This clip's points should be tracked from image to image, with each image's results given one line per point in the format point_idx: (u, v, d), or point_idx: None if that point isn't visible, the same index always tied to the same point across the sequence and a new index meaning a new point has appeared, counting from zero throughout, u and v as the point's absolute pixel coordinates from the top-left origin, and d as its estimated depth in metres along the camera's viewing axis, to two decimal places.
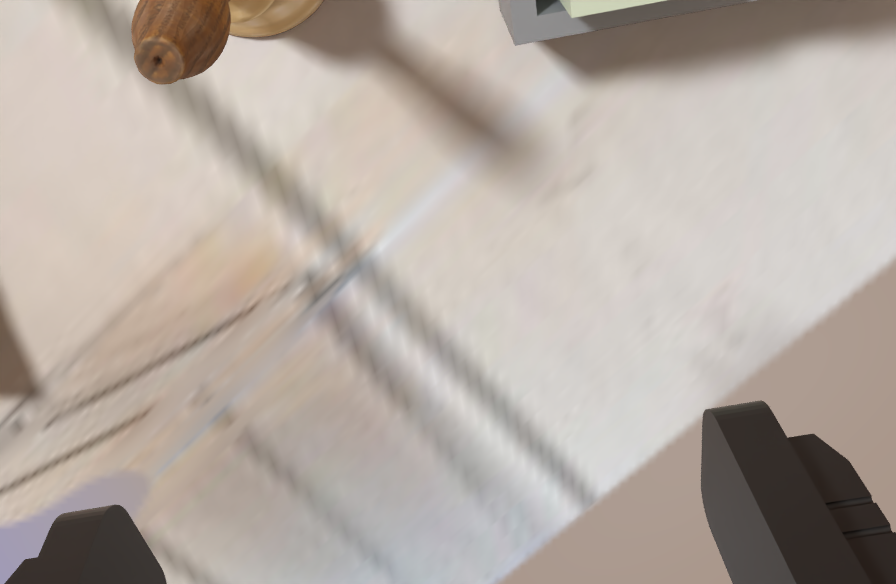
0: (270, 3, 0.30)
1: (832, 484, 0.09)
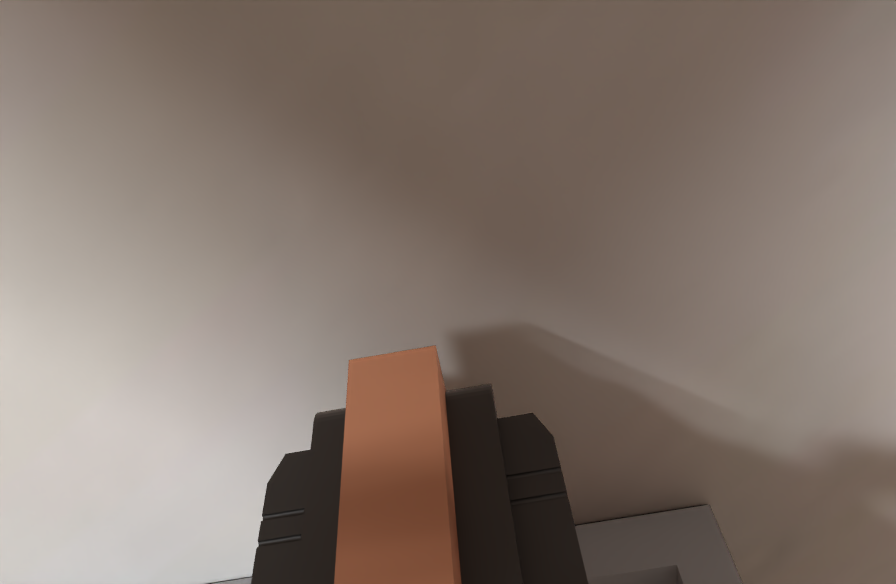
0: None
1: (531, 457, 0.10)
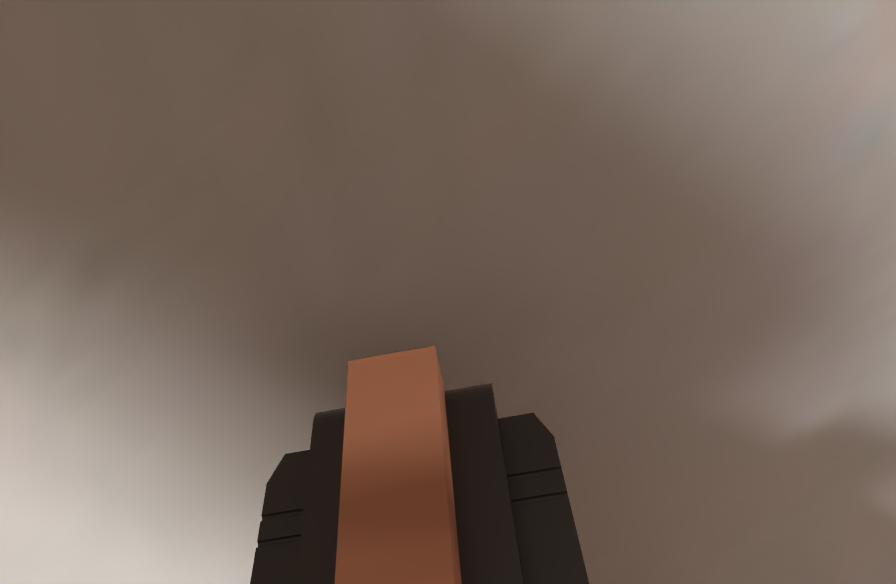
0: None
1: (531, 456, 0.10)
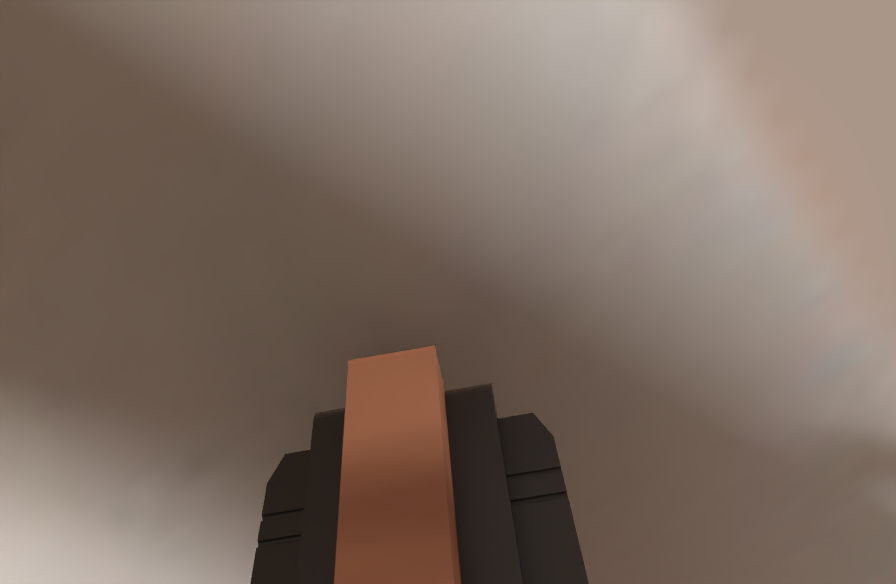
0: None
1: (531, 457, 0.10)
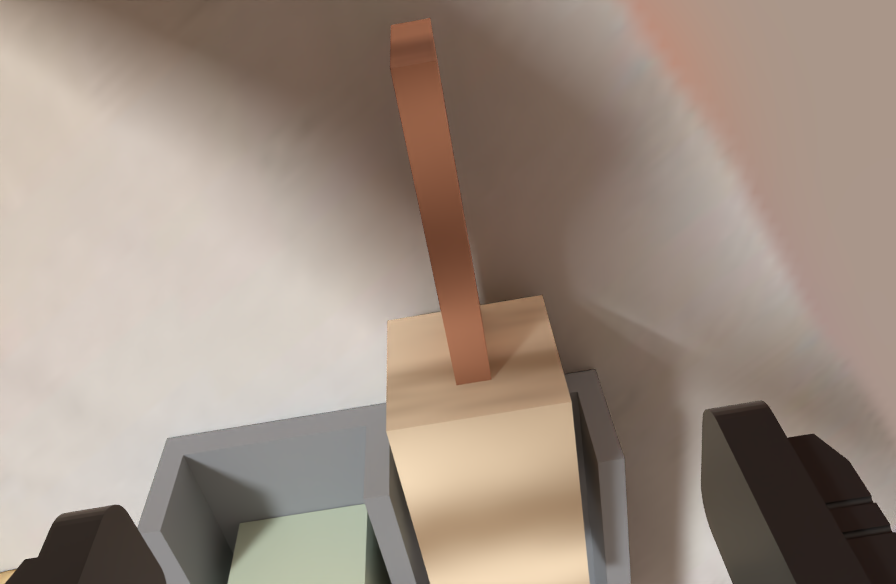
0: None
1: (832, 484, 0.09)
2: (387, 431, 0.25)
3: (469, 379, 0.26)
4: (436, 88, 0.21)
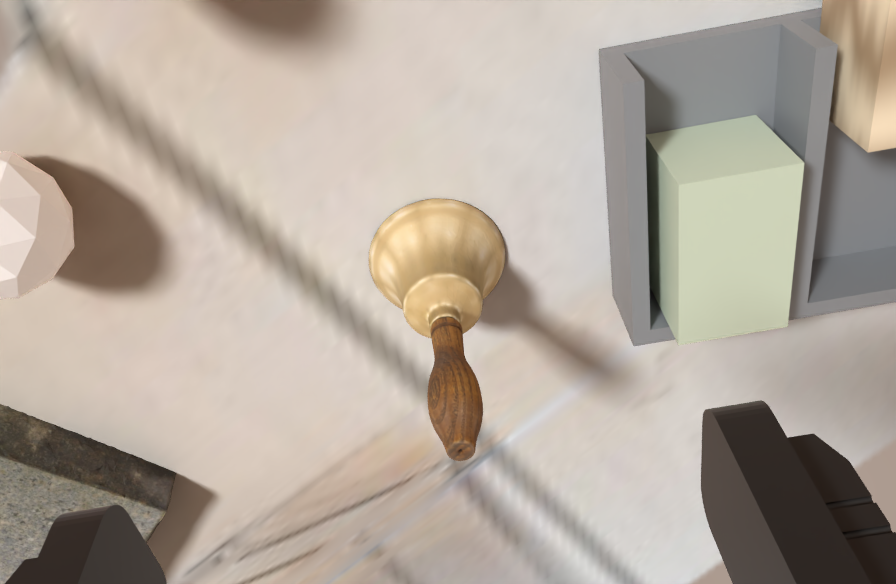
0: (471, 327, 0.44)
1: (832, 484, 0.09)
2: None
3: None
4: None
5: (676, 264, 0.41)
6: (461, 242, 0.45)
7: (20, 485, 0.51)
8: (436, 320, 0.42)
